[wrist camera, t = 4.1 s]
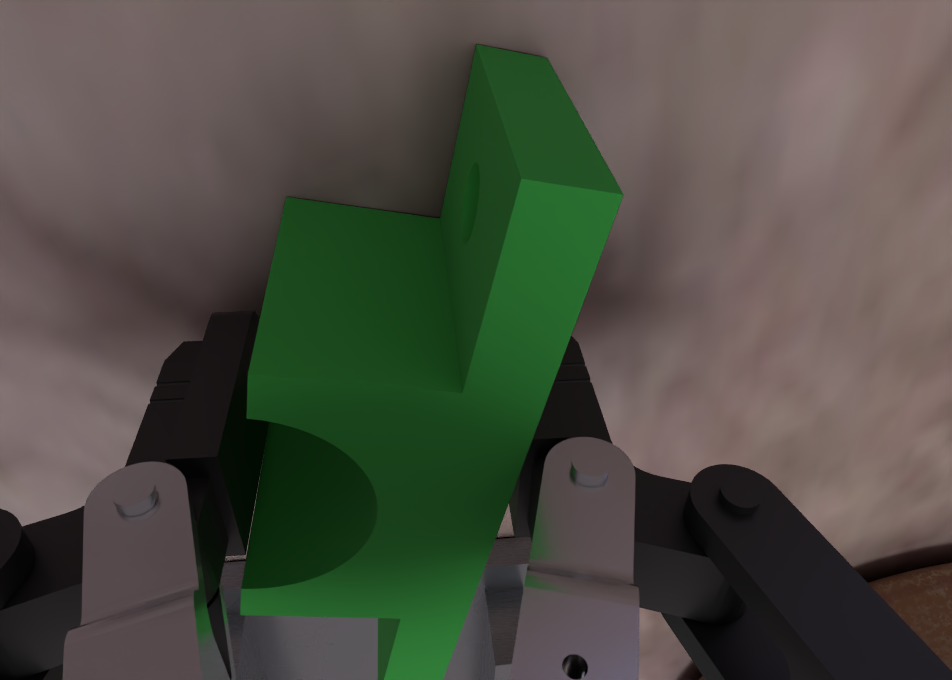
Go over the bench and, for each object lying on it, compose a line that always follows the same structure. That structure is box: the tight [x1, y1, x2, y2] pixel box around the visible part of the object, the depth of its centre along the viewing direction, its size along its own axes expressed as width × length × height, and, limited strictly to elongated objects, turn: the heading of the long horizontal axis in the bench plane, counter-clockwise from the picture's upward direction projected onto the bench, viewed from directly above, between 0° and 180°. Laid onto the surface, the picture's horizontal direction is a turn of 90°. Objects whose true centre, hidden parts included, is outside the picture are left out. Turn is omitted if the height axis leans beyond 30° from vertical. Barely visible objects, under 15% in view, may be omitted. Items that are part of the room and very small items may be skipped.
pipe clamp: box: [240, 44, 623, 680], centre depth 12 cm, size 11×4×5 cm, turn 168°
